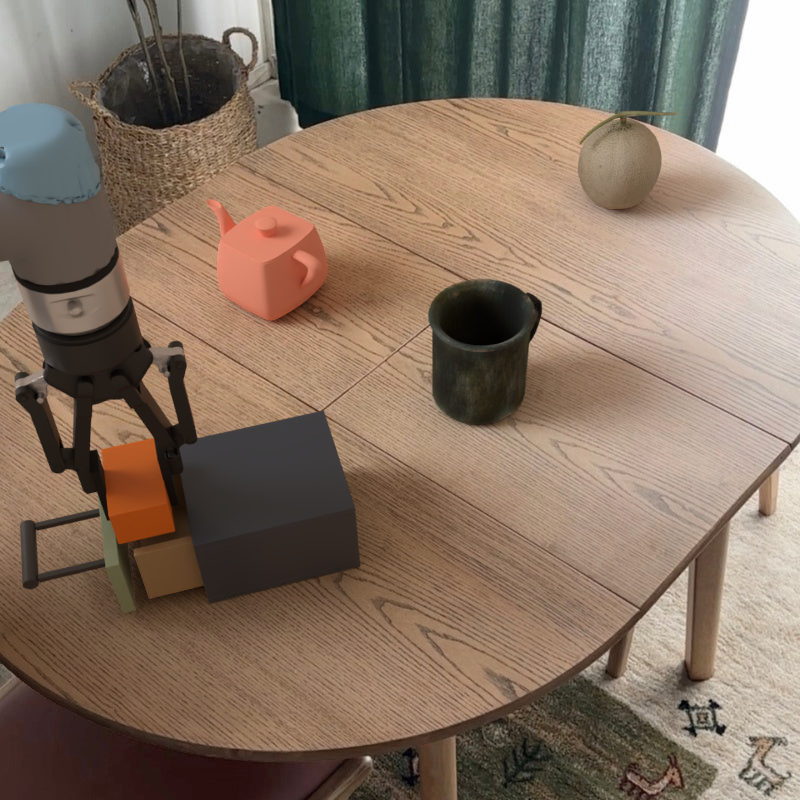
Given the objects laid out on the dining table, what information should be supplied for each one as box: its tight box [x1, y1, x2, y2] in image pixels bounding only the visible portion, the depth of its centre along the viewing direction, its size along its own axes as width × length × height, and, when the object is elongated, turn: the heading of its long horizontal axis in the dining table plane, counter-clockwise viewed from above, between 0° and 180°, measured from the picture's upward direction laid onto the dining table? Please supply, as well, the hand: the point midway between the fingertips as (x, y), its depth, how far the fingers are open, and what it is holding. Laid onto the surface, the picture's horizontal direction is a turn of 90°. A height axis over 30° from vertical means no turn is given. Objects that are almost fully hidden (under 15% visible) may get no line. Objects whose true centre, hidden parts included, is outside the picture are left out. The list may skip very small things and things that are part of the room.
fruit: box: [577, 110, 678, 210], centre depth 136 cm, size 10×12×15 cm
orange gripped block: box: [100, 437, 175, 544], centre depth 95 cm, size 5×8×4 cm, turn 16°
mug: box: [427, 278, 543, 426], centre depth 114 cm, size 11×15×12 cm
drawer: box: [19, 473, 204, 614], centre depth 99 cm, size 21×11×7 cm, turn 106°
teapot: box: [206, 198, 329, 321], centre depth 127 cm, size 12×18×10 cm, turn 51°
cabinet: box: [179, 410, 361, 604], centre depth 101 cm, size 15×13×9 cm
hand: (141, 501), depth 96 cm, fingers closed on orange gripped block, 5 cm apart
